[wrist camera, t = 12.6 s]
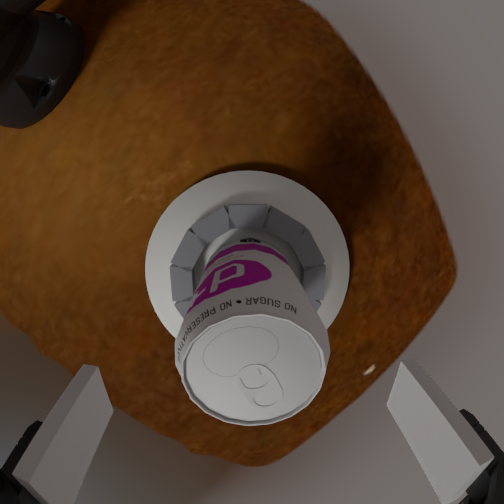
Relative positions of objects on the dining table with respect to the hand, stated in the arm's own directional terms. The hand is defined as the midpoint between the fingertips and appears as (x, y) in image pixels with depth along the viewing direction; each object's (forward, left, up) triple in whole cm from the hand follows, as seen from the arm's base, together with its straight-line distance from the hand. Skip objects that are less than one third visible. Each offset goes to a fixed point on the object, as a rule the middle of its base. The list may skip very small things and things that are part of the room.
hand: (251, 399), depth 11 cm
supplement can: (0, 0, -17) cm, 17 cm away
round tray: (0, 0, -18) cm, 18 cm away
